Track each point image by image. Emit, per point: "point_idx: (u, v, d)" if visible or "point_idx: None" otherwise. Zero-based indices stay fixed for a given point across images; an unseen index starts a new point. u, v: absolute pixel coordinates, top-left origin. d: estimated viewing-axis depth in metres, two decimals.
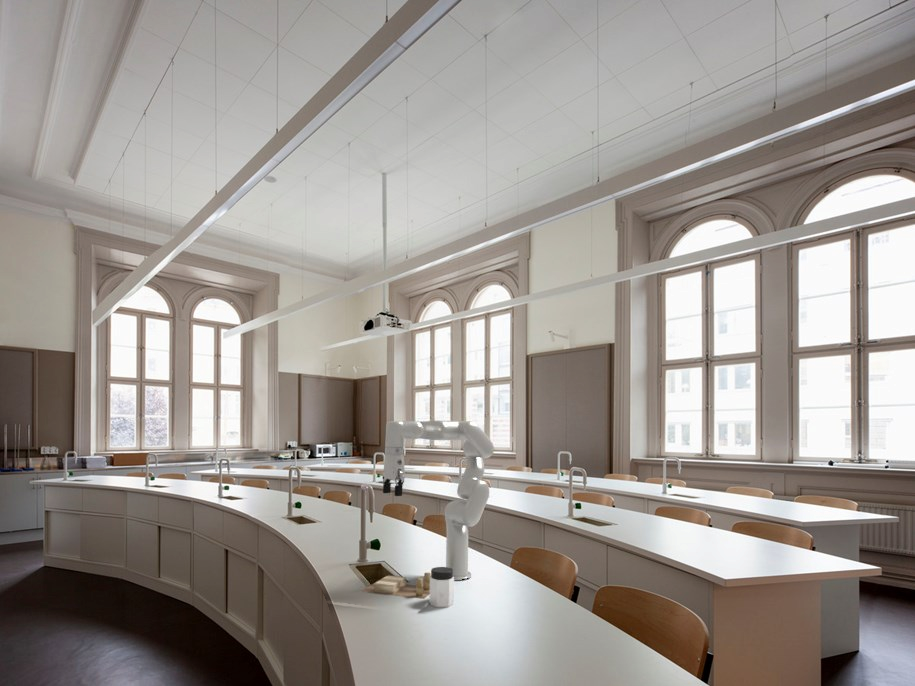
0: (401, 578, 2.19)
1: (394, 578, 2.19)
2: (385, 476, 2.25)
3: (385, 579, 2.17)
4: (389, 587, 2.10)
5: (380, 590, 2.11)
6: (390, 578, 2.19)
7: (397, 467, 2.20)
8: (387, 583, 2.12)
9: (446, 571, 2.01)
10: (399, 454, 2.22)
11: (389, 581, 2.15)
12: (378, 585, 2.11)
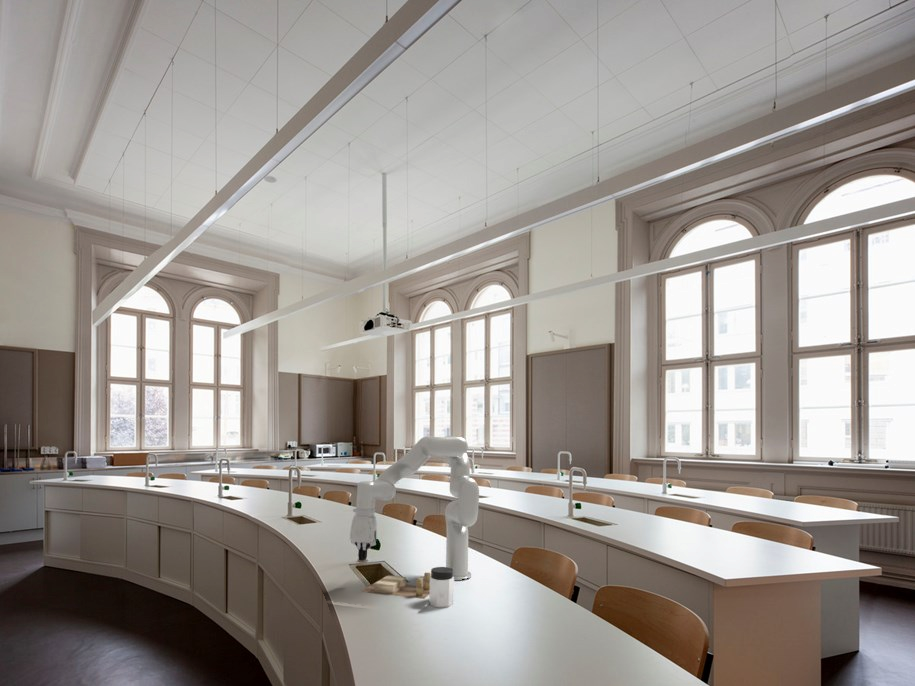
0: (401, 578, 2.19)
1: (394, 578, 2.19)
2: None
3: (385, 579, 2.17)
4: (389, 587, 2.10)
5: (380, 590, 2.11)
6: (390, 578, 2.19)
7: None
8: (387, 583, 2.12)
9: (446, 571, 2.01)
10: None
11: (389, 581, 2.15)
12: (378, 585, 2.11)
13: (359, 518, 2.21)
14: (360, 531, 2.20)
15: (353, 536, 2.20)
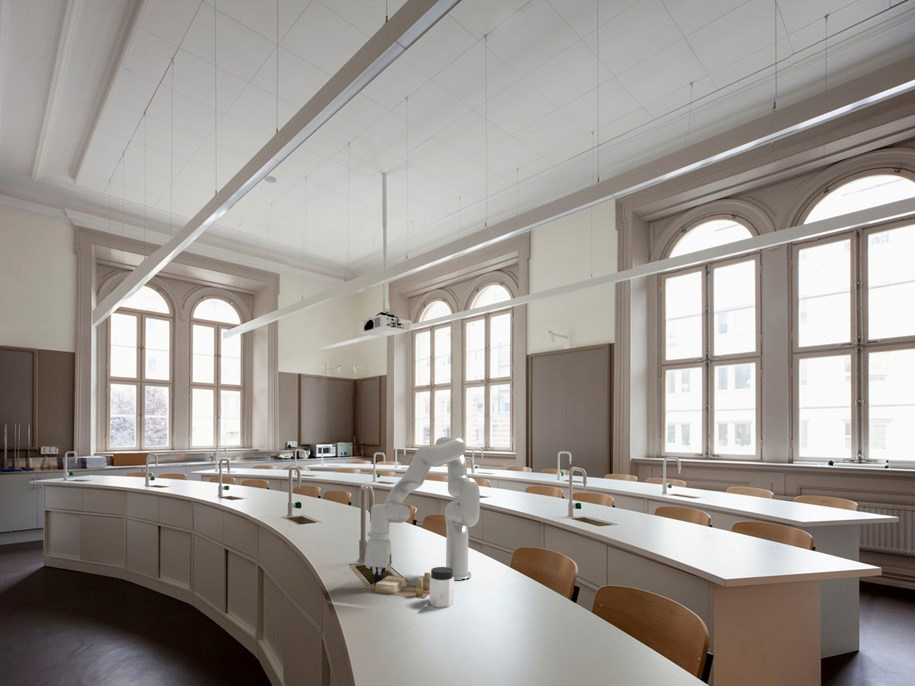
0: (402, 578, 2.19)
1: (395, 578, 2.19)
2: None
3: (386, 579, 2.17)
4: (390, 587, 2.10)
5: (382, 590, 2.10)
6: (392, 578, 2.19)
7: None
8: (388, 583, 2.12)
9: (446, 571, 2.01)
10: None
11: (390, 581, 2.15)
12: (379, 585, 2.11)
13: (374, 542, 2.18)
14: (375, 556, 2.17)
15: (368, 561, 2.17)
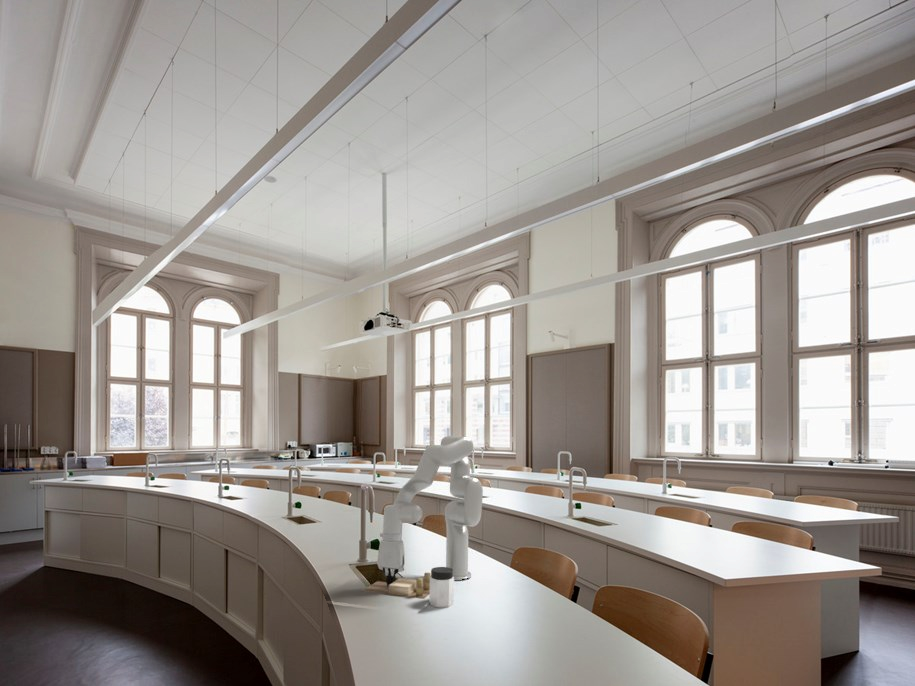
0: (415, 580, 2.17)
1: (408, 580, 2.17)
2: None
3: (398, 581, 2.15)
4: (404, 589, 2.08)
5: (395, 592, 2.09)
6: (404, 579, 2.17)
7: None
8: (401, 585, 2.10)
9: (446, 571, 2.01)
10: None
11: (403, 583, 2.13)
12: (392, 587, 2.09)
13: (386, 543, 2.16)
14: (388, 557, 2.15)
15: (381, 562, 2.15)
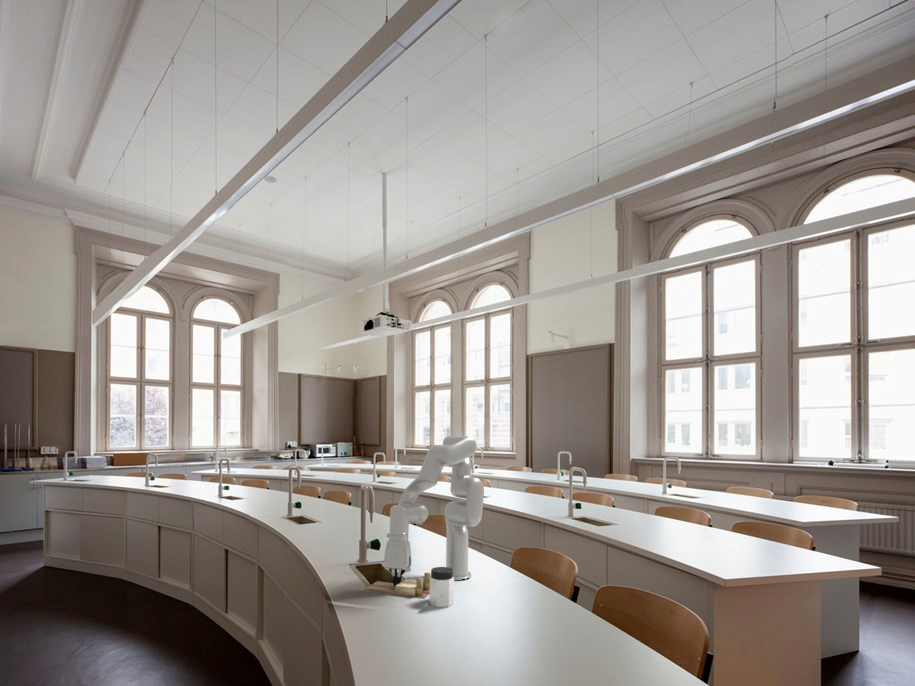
0: None
1: (414, 580, 2.16)
2: None
3: (405, 582, 2.14)
4: (410, 589, 2.07)
5: (401, 592, 2.08)
6: (411, 580, 2.16)
7: None
8: (408, 585, 2.10)
9: (446, 571, 2.01)
10: None
11: (409, 583, 2.12)
12: (399, 588, 2.08)
13: (393, 544, 2.15)
14: (394, 557, 2.14)
15: (387, 562, 2.15)
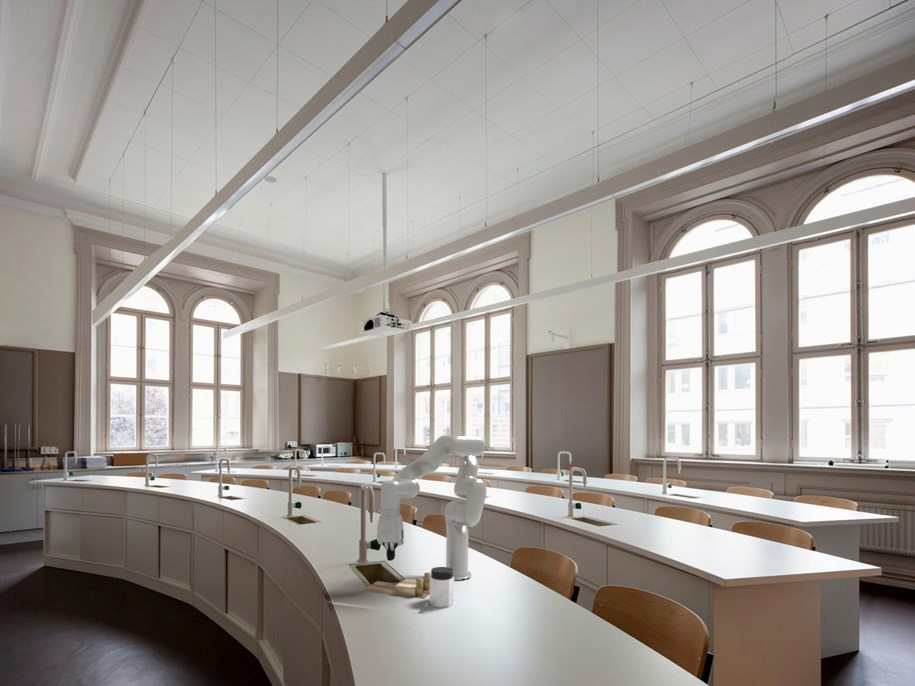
0: None
1: (414, 580, 2.16)
2: None
3: (405, 582, 2.14)
4: (410, 589, 2.07)
5: (401, 592, 2.08)
6: (411, 580, 2.16)
7: None
8: (408, 585, 2.10)
9: (446, 571, 2.01)
10: None
11: (409, 583, 2.12)
12: (399, 588, 2.08)
13: (385, 518, 2.18)
14: (387, 531, 2.17)
15: (380, 537, 2.18)
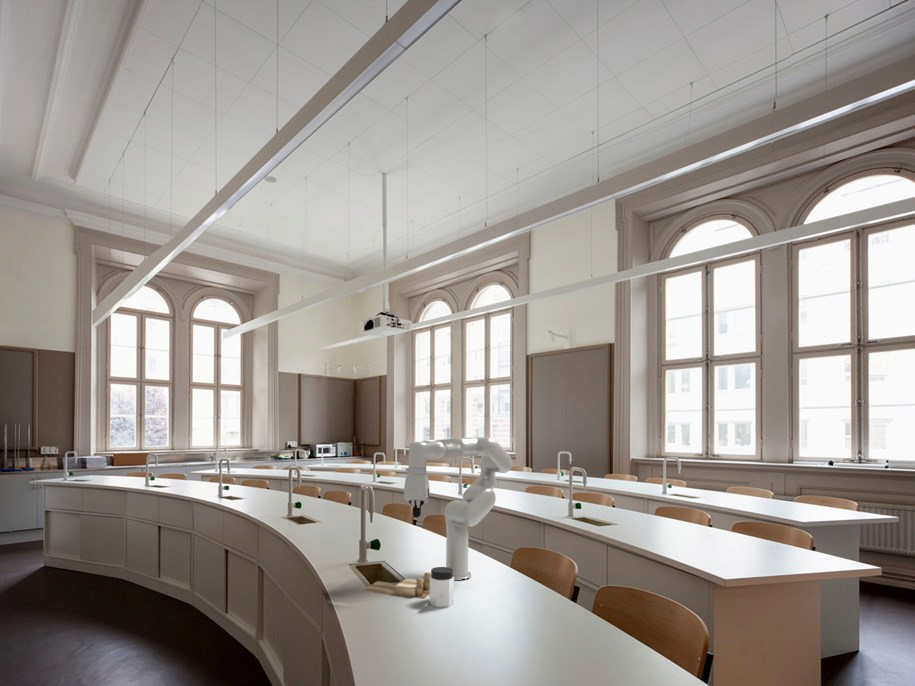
0: None
1: (414, 580, 2.16)
2: None
3: (405, 582, 2.14)
4: (410, 589, 2.07)
5: (401, 592, 2.08)
6: (411, 580, 2.16)
7: None
8: (408, 585, 2.10)
9: (446, 571, 2.01)
10: None
11: (409, 583, 2.12)
12: (399, 588, 2.08)
13: (412, 477, 2.28)
14: (414, 489, 2.27)
15: (407, 494, 2.28)
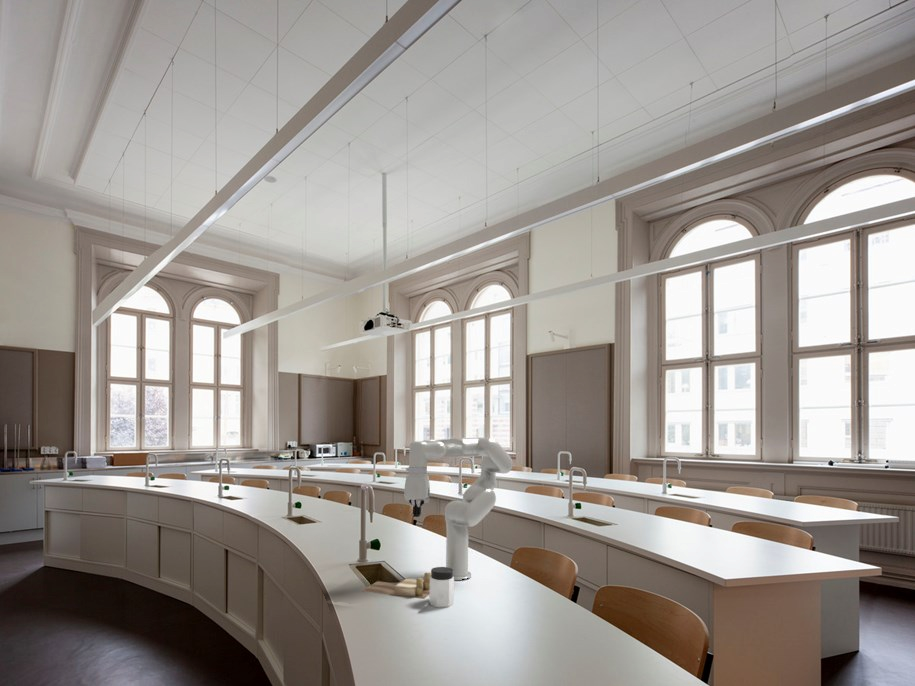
0: None
1: (414, 580, 2.16)
2: None
3: (405, 582, 2.14)
4: (410, 589, 2.07)
5: (401, 592, 2.08)
6: (411, 580, 2.16)
7: None
8: (408, 585, 2.10)
9: (446, 571, 2.01)
10: None
11: (409, 583, 2.12)
12: (399, 588, 2.08)
13: (413, 476, 2.28)
14: (414, 488, 2.27)
15: (407, 493, 2.28)
